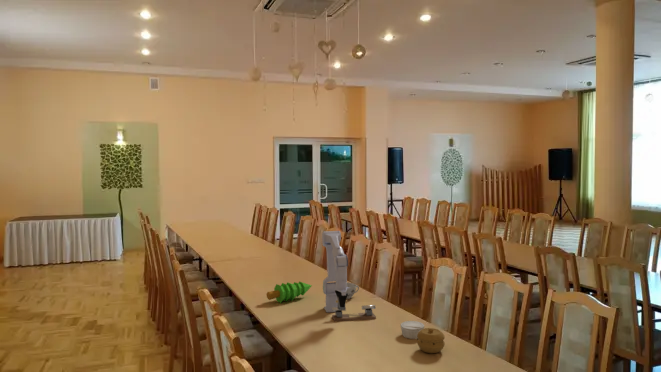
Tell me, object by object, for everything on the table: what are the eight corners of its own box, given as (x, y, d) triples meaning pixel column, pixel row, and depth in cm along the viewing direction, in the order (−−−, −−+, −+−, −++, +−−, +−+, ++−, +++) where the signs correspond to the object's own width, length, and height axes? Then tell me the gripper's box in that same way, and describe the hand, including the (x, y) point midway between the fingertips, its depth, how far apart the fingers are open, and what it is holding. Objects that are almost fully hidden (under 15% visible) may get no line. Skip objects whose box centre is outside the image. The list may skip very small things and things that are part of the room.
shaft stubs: (331, 315, 255) (331, 306, 255) (374, 313, 259) (374, 303, 259) (332, 318, 252) (332, 308, 251) (376, 315, 255) (376, 306, 255)
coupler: (335, 307, 247) (334, 296, 247) (346, 307, 248) (346, 295, 248) (336, 310, 243) (336, 298, 243) (348, 309, 244) (347, 297, 244)
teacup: (340, 302, 284) (340, 288, 283) (332, 296, 295) (332, 283, 295) (363, 298, 290) (363, 285, 289) (354, 293, 301) (354, 280, 301)
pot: (440, 345, 217) (440, 323, 216) (447, 356, 205) (448, 332, 204) (414, 346, 216) (414, 324, 216) (420, 356, 205) (420, 333, 204)
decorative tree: (265, 282, 283) (309, 273, 300) (263, 298, 287) (306, 288, 304) (274, 293, 275) (318, 283, 291) (271, 310, 279) (315, 299, 296)
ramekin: (406, 341, 222) (406, 330, 222) (396, 333, 233) (396, 322, 233) (428, 338, 225) (428, 327, 225) (417, 330, 236) (417, 319, 236)
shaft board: (332, 317, 257) (332, 314, 257) (372, 314, 261) (372, 311, 260) (334, 321, 250) (334, 318, 250) (375, 318, 254) (375, 316, 254)
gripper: (351, 282, 238) (352, 309, 239) (346, 275, 253) (346, 301, 254) (337, 283, 237) (338, 310, 238) (332, 276, 252) (333, 301, 252)
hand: (341, 305), depth 246 cm, fingers closed on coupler, 4 cm apart
